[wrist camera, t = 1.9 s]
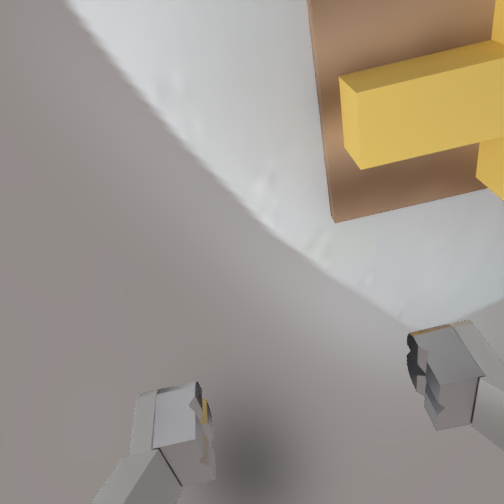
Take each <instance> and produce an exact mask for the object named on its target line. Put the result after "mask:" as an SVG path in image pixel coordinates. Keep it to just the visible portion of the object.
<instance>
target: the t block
mask: <svg viewBox="0 0 504 504" xmlns="http://www.w3.org/2000/svg"><path fill="white" fill-rule="evenodd" d="M339 86H340V98H341V111H342V123H343V135H344V147H345V149H346V150H347V152H348V153H349V154H350V156H351V157H352V159H353V160H354V161H355V163H356V164H357V166H358V167H359V168H360V170H363V169H367V168H371V167H376V166H380V165H384V164H388V163H393V162H397V161H401V160H405V159H410V158H414V157H418V156H422V155H427V154H431V153H435V152H440V151H444V150H448V149H452V148H457V147H461V146H465V145H469V144H474V143H478V142H480V143H479V152H478V161H477V170H476V178H477V179H478V180H480V181H481V182H482V183H483V184H484V185H485V186H487V187H488V188H489V189H490V190H491V191H493V192H494V193H495V194H496V195H497V196H498V197H500V198H501V199H502V200H503V201H504V0H496V1H495V10H494V19H493V28H492V37H491V40H488V41H483V42H479V43H475V44H471V45H467V46H463V47H458V48H454V49H450V50H446V51H442V52H438V53H434V54H429V55H425V56H421V57H417V58H413V59H409V60H404V61H400V62H396V63H392V64H388V65H384V66H379V67H375V68H371V69H367V70H363V71H359V72H354V73H350V74H346V75H342V76H339Z"/></svg>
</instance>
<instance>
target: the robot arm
mask: <svg viewBox="0 0 504 504" xmlns="http://www.w3.org/2000/svg"><path fill="white" fill-rule="evenodd" d="M407 345H408V346H409V348H410V350H411V351H410V352H409V353H408V354H407V366H408V371H409V375H410V378H411V380H412V383H413V385H414V387H415V389H416V391H417V392H418V393H420V394H421V395H423V396H424V397H425V403H424V407H425V409H426V411H427V413H428V415H429V417H430V419H431V421H432V423H433V425H434V427H435V429H436V431H439V430H444V429H449V428H454V427H460V426H465V425H471V424H472V427H473V428H475V429H476V430H477V431H479V432H480V433H481V434H482V435H484V436H485V437H487V438H488V439H489V440H491V441H492V442H493V443H494V444H496V445H497V446H498V447H499V448H501V449H502V450H503V451H504V363H503V362H502V361H501V359H500V358H499V357H498V355H497V354H496V353H495V351H494V350H493V349H492V347H491V346H490V344H489V343H488V342H487V341H486V339H485V338H484V337H483V335H482V334H481V332H480V331H479V330H478V329H477V327H476V326H475V324H474V323H473V322H472V321H470V320H465V321H461V322H456V323H452V324H448V325H447V324H445V325H441V326H437V327H433V328H429V329H424V330H420V331H416V332H412V333H409V334H408V336H407ZM213 437H214V431H213V422H212V415H211V412H210V408H209V405H208V402H207V400H206V399H204V398H202V388H201V386H200V384H199V382H192V383H187V384H182V385H177V386H171V387H166V388H162V389H157V390H152V391H147V392H143V393H139V395H138V397H137V399H136V405H135V415H134V423H133V431H132V439H131V447H130V455H127V456H124V457H123V458H122V460H121V461H120V462H119V464H118V465H117V467H116V468H115V470H114V471H113V473H112V474H111V475H110V477H109V478H108V480H107V481H106V483H105V484H104V486H103V487H102V488H101V490H100V491H99V493H98V494H97V496H96V497H95V499H94V500H93V501H92V503H91V504H176V503H177V501H178V499H179V497H180V495H181V492H182V490H183V489H182V487H185V486H190V485H193V484H198V483H202V482H206V481H210V480H214V479H216V478H215V477H216V476H215V453H214V451H213V449H212V446H211V444H210V442H211V440H212V438H213Z"/></svg>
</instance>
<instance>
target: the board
mask: <svg viewBox="0 0 504 504" xmlns="http://www.w3.org/2000/svg"><path fill="white" fill-rule="evenodd" d="M495 1H496V0H307V4H308V13H309V22H310V31H311V40H312V49H313V58H314V67H315V76H316V85H317V94H318V103H319V112H320V121H321V130H322V139H323V148H324V157H325V166H326V175H327V184H328V193H329V202H330V211H331V216H332V218H333V220H334V222H335V223H338V222H343V221H347V220H351V219H356V218H360V217H364V216H369V215H373V214H377V213H382V212H386V211H390V210H395V209H399V208H403V207H408V206H412V205H416V204H421V203H425V202H429V201H434V200H438V199H442V198H446V197H451V196H455V195H459V194H464V193H468V192H472V191H477V190H481V189H485V188H488V187H487V186H485V185H484V184H483V183H482V182H481V181H480V180H478V179H477V178H476V170H477V161H478V152H479V143H480V142H478V143H474V144H469V145H465V146H461V147H457V148H452V149H448V150H444V151H440V152H435V153H431V154H427V155H422V156H418V157H414V158H410V159H405V160H401V161H397V162H393V163H388V164H384V165H380V166H376V167H371V168H367V169H363V170H360V168H359V167H358V166H357V164H356V163H355V161H354V160H353V159H352V157H351V156H350V154H349V153H348V152H347V150H346V149H345V147H344V135H343V123H342V111H341V98H340V86H339V76H342V75H346V74H350V73H354V72H359V71H363V70H367V69H371V68H375V67H379V66H384V65H388V64H392V63H396V62H400V61H404V60H409V59H413V58H417V57H421V56H425V55H429V54H434V53H438V52H442V51H446V50H450V49H454V48H458V47H463V46H467V45H471V44H475V43H479V42H483V41H488V40H491V37H492V28H493V19H494V10H495Z"/></svg>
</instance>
